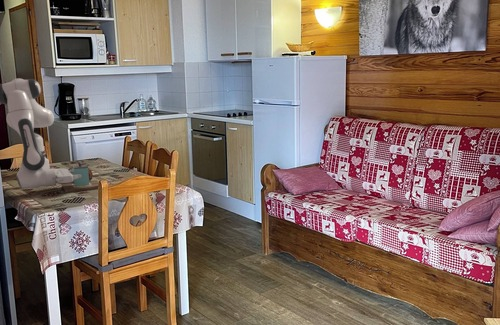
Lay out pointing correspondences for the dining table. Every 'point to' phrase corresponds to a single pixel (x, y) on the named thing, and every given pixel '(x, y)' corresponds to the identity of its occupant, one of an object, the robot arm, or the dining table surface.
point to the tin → (88, 172)
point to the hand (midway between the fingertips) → (79, 174)
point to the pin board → (80, 187)
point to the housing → (83, 171)
